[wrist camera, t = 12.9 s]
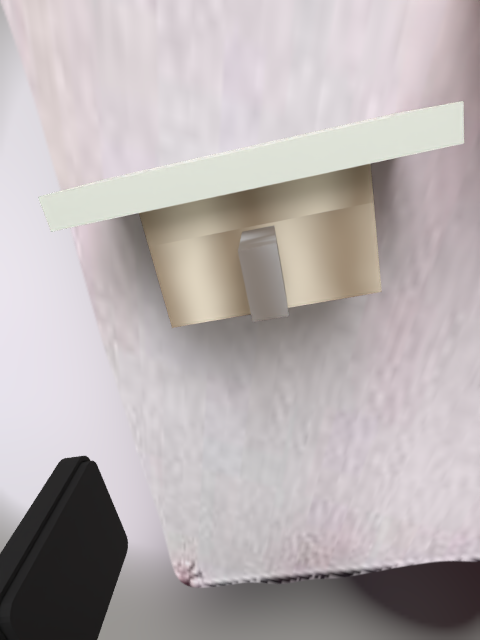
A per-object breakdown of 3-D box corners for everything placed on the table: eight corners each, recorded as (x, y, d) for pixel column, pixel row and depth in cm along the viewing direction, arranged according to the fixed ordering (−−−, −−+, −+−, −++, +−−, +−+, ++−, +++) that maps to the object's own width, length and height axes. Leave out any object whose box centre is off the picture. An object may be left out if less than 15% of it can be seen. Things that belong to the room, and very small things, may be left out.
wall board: (395, 113, 33) (463, 100, 21) (397, 141, 33) (463, 143, 22) (108, 178, 35) (38, 197, 24) (116, 202, 36) (51, 231, 25)
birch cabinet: (341, 154, 34) (394, 167, 20) (352, 253, 37) (405, 322, 23) (170, 191, 36) (111, 225, 22) (193, 282, 39) (155, 363, 25)
